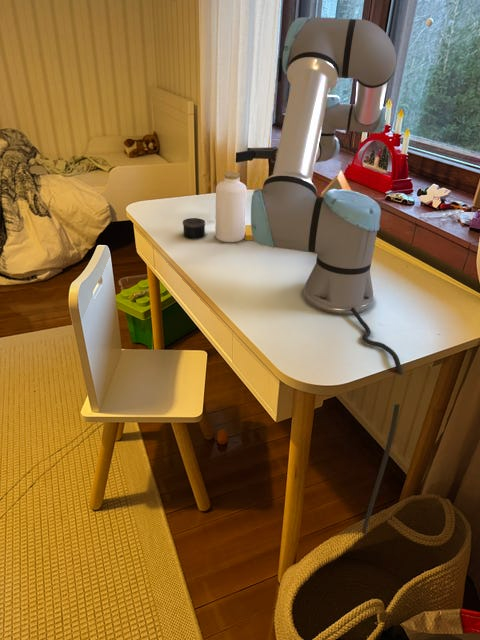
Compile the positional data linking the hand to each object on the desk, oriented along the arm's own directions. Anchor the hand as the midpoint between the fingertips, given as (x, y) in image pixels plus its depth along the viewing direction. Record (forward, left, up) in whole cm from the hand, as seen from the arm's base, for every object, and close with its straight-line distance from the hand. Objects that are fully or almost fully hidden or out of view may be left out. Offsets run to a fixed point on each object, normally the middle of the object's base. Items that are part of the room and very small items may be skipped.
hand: (253, 162), depth 133 cm
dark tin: (-7, +17, -19) cm, 26 cm away
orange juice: (-15, -21, -12) cm, 28 cm away
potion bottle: (-9, +7, -19) cm, 22 cm away
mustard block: (-6, -1, -19) cm, 20 cm away
